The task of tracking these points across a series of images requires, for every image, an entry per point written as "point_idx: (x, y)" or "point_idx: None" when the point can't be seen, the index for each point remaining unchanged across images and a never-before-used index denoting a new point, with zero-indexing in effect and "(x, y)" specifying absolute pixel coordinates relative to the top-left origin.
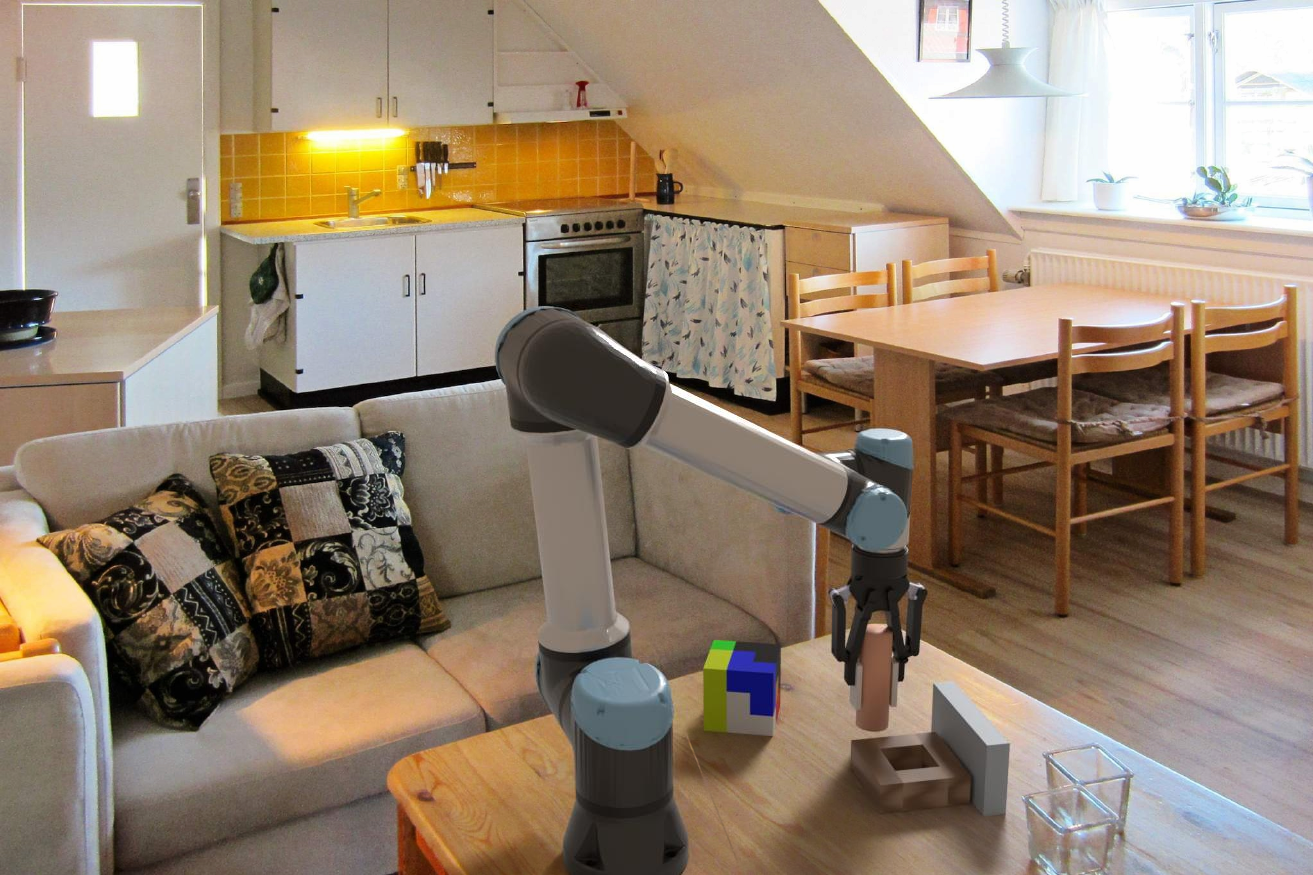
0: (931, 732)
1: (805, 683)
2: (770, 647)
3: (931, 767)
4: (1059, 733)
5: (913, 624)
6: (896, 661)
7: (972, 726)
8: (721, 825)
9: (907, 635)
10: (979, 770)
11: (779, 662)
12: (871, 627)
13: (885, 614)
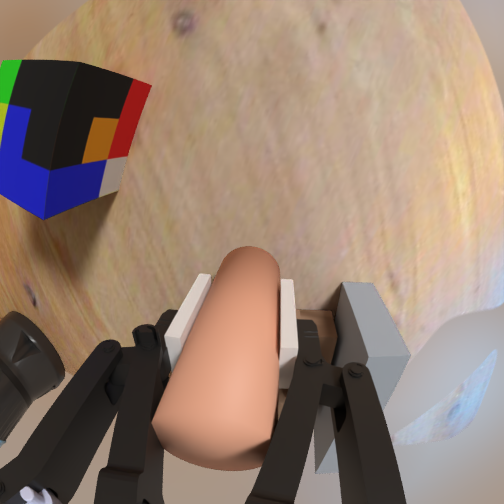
0: (329, 338)
1: (220, 13)
2: (57, 82)
3: (278, 403)
4: (495, 280)
5: (342, 484)
6: (289, 381)
7: (327, 454)
8: (75, 345)
9: (348, 412)
10: (317, 434)
11: (89, 94)
12: (199, 430)
13: (254, 485)
